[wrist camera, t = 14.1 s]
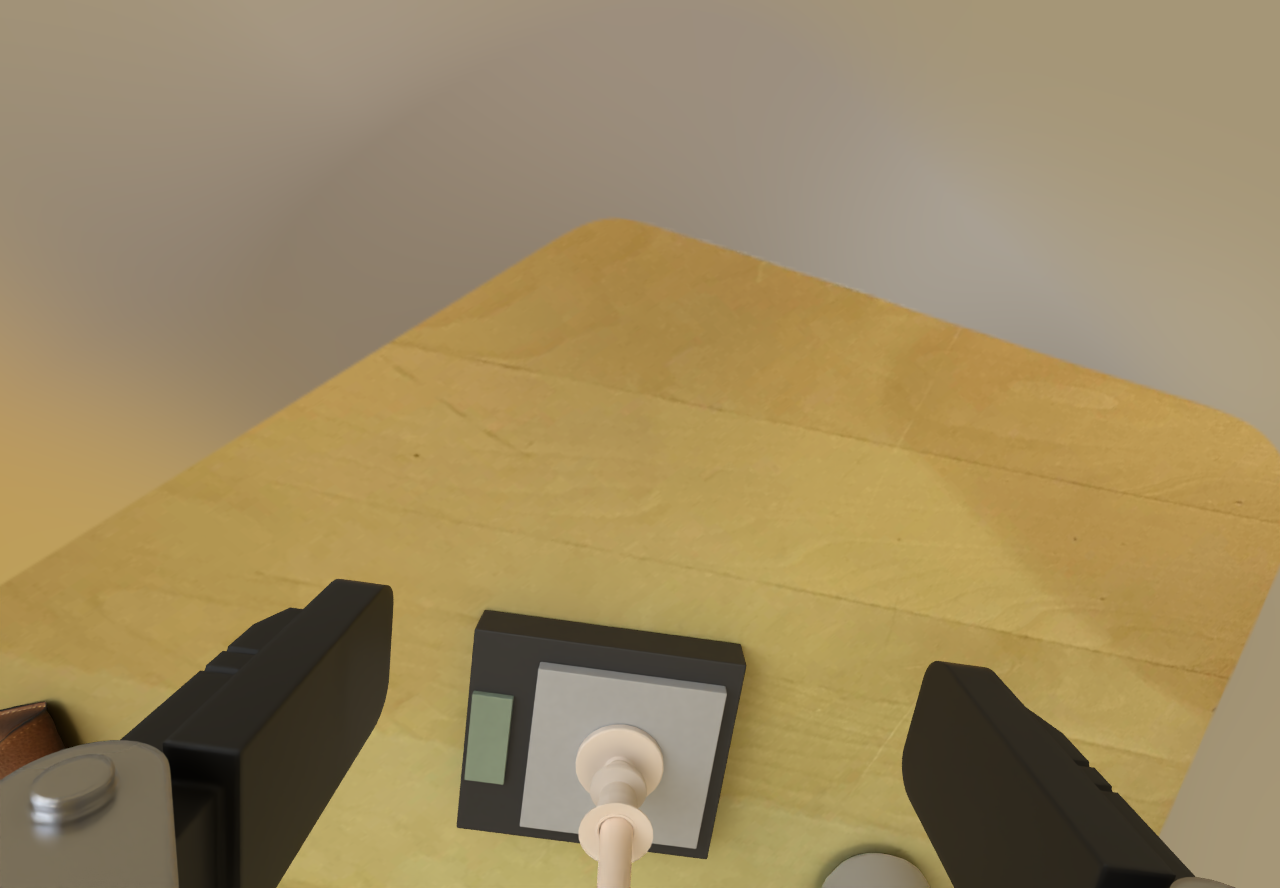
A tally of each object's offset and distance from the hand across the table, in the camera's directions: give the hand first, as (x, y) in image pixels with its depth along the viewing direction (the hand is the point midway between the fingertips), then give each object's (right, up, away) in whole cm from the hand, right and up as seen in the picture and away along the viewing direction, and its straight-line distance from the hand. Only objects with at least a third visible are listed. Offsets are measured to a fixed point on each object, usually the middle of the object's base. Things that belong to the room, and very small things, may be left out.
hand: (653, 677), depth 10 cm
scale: (-3, -15, +32) cm, 36 cm away
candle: (-1, -15, +30) cm, 33 cm away
